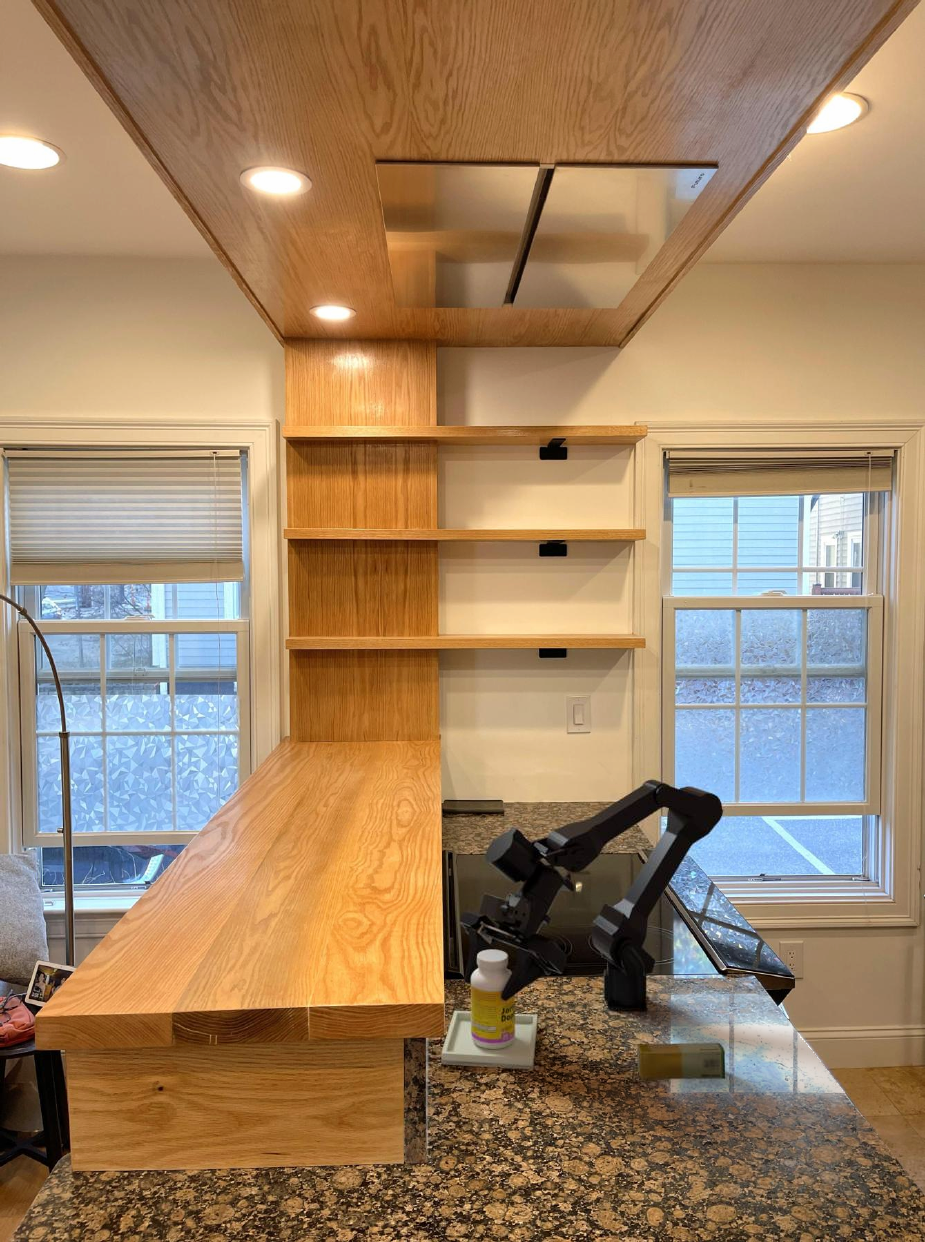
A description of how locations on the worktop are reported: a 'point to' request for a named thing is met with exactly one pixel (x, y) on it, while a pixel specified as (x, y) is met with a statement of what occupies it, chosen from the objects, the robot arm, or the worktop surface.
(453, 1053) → the tray
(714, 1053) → the medication box
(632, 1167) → the worktop surface
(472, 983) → the supplement bottle
